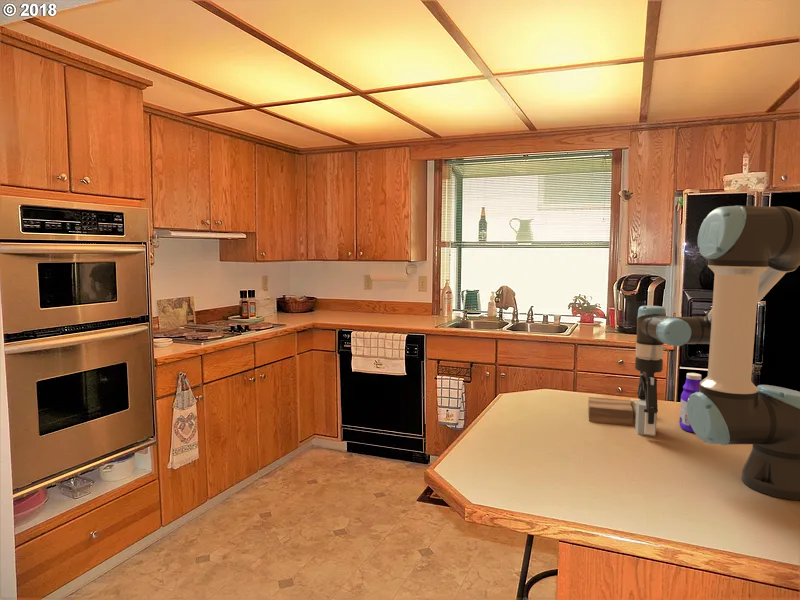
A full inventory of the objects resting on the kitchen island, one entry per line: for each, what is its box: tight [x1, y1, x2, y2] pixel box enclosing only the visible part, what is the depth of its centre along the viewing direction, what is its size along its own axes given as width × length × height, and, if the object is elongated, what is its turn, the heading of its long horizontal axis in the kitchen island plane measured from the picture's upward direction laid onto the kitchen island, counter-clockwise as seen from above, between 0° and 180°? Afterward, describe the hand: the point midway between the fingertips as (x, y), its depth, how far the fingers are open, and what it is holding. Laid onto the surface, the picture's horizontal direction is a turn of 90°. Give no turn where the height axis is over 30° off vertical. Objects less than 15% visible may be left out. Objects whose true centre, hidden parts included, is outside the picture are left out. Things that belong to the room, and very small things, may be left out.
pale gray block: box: [634, 401, 658, 437], centre depth 167 cm, size 5×5×9 cm
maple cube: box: [629, 398, 638, 419], centre depth 184 cm, size 5×5×5 cm
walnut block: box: [587, 396, 634, 426], centre depth 182 cm, size 13×13×5 cm
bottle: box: [678, 372, 702, 433], centre depth 170 cm, size 7×6×17 cm
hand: (645, 426), depth 167 cm, fingers open, 13 cm apart
